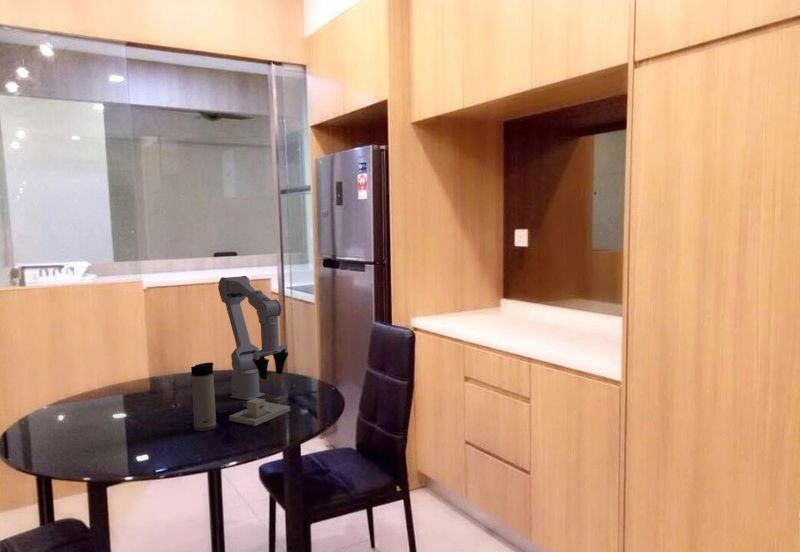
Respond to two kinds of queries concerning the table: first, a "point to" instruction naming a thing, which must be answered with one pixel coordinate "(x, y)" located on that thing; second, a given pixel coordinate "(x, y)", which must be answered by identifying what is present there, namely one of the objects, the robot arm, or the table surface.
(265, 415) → the outlet plate
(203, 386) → the travel mug
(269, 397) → the phone
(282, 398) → the cable plug
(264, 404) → the block
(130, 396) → the table surface
